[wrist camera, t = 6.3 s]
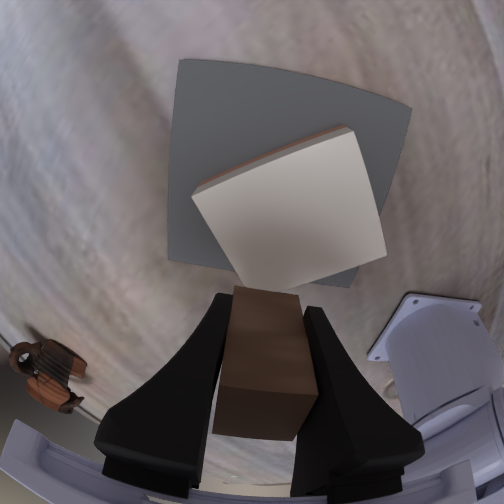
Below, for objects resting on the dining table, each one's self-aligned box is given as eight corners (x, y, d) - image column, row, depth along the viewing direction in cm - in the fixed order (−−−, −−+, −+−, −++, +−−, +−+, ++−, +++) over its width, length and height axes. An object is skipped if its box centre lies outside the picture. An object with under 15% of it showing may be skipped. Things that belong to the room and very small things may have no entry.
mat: (407, 107, 12) (412, 108, 12) (347, 282, 19) (349, 288, 18) (182, 60, 12) (179, 59, 11) (170, 254, 18) (167, 259, 18)
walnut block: (298, 295, 13) (318, 394, 8) (284, 343, 14) (292, 441, 9) (234, 285, 13) (218, 384, 8) (226, 335, 14) (212, 433, 9)
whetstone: (376, 236, 16) (342, 124, 13) (387, 255, 14) (353, 131, 11) (255, 278, 18) (200, 182, 15) (253, 299, 17) (191, 196, 13)
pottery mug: (109, 372, 30) (88, 426, 26) (83, 351, 35) (64, 397, 31) (26, 328, 22) (2, 391, 18) (17, 311, 27) (-4, 362, 23)
